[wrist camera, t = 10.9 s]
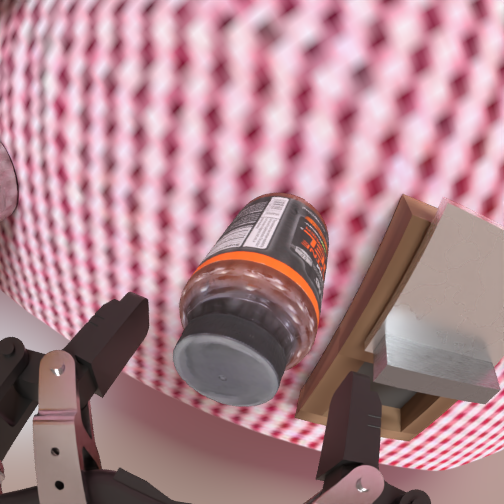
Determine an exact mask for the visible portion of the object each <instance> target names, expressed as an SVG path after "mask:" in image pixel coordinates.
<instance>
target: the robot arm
mask: <svg viewBox="0 0 504 504" xmlns="http://www.w3.org/2000/svg"><path fill="white" fill-rule="evenodd" d="M16 204H17V183H16V177H15V173H14V169H13V166H12V163H11V160H10V158H9V155H8V153H7V151H6V150H5V148H4V147H3V145H2V144H1V143H0V221H2V220H4V219H5V218H7V217H8V216H10V215H11V214H12V213H13V212H14V210H15V208H16ZM148 329H149V307H148V299H147V298H144V297H142V296H140V295H137V294H135V293H133V292H128V293H127V294H126V295H125V296H124V297H123V298H122V299H121V301H118V300H116V299H114V300H112V301H110V302H108V303H106V304H104V305H103V306H102V307H101V308H100V309H99V310H98V311H97V312H96V313H95V315H93V317H92V318H91V319H90V320H89V322H88V323H86V324H85V325H84V326H83V328H82V329H81V330H80V331H79V332H78V333H77V334H76V335H75V337H74V338H73V339H72V340H71V341H70V342H69V343H68V345H67V346H66V347H65V348H64V349H62V350H54V351H51V352H49V353H47V354H42V353H39V352H35V351H31V350H27V349H25V347H24V345H23V343H22V341H20V340H19V339H18V338H15V337H8V338H5V339H3V340H1V341H0V504H190V503H184V502H177V501H173V500H171V499H170V498H168V497H167V496H165V495H164V494H163V493H161V492H160V491H159V490H157V489H156V488H154V487H153V486H152V485H151V484H150V483H148V482H147V481H145V480H143V479H141V478H139V477H137V476H135V475H133V474H131V473H129V472H127V471H125V470H123V469H121V468H119V469H118V471H112V470H103V469H102V466H101V461H100V456H99V453H98V450H97V447H96V443H95V438H94V431H93V424H92V414H91V405H90V399H91V397H92V396H93V394H94V393H95V394H97V395H99V396H100V397H102V398H103V397H104V395H105V393H106V392H107V390H108V389H109V388H110V386H111V385H112V384H113V382H114V381H115V379H116V378H117V376H118V375H119V374H120V372H121V371H122V369H123V368H124V366H125V365H126V364H127V362H128V361H129V359H130V358H131V357H132V355H133V354H134V352H135V351H136V350H137V348H138V347H139V345H140V344H141V343H142V341H143V340H144V338H145V337H146V335H147V332H148ZM38 404H39V411H38V414H37V415H34V418H33V442H34V443H33V444H34V458H35V469H36V479H37V486H34V487H30V488H26V489H22V490H18V491H13V492H9V493H4V494H3V493H2V488H1V483H2V481H3V480H4V478H5V475H4V467H3V464H2V460H3V459H4V457H5V455H6V454H7V452H8V450H9V449H10V447H11V445H12V444H13V442H14V441H15V439H16V437H17V436H18V434H19V433H20V431H21V430H22V428H23V426H24V425H25V423H26V422H27V420H28V419H29V417H30V416H31V414H32V413H33V411H34V410H35V408H36V407H37V405H38ZM381 417H382V403H381V401H380V398H379V395H378V392H374V391H370V376H369V375H365V374H361V373H357V372H354V371H350V372H349V373H348V374H347V376H346V377H345V379H344V380H343V381H342V383H341V384H340V385H339V387H338V388H337V390H336V391H335V392H334V394H333V396H332V399H331V402H330V406H329V412H328V418H327V424H326V430H325V435H324V441H323V446H322V451H321V457H320V461H319V466H318V471H317V475H316V479H317V480H322V481H324V485H323V489H322V490H320V491H319V492H318V493H316V494H315V495H314V496H313V497H311V498H310V499H309V500H307V501H306V502H305V503H303V504H431V501H430V498H429V496H428V495H427V494H426V493H425V492H424V491H421V490H411V491H409V492H407V493H406V492H404V491H402V490H400V489H398V488H396V487H394V486H391V485H390V484H388V483H387V482H385V480H384V479H383V476H382V474H381V473H380V471H379V467H378V462H379V450H380V436H381V429H380V428H381Z"/></svg>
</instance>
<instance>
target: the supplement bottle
mask: <svg viewBox="0 0 504 504" xmlns="http://www.w3.org/2000/svg"><path fill="white" fill-rule="evenodd" d="M328 247H329V238H328V231H327V227H326V224H325V222H324V220H323V218H322V217H321V215H320V214H319V212H318V211H317V210H316V209H315V208H314V207H313V206H312V205H311V204H310V203H308V202H306V201H305V200H304V199H302V198H300V197H297V196H295V195H291V194H285V193H269V194H265V195H262V196H259V197H257V198H255V199H254V200H252V201H250V202H249V203H248V204H247V205H246V206H245V207H244V208H243V209H242V210H241V211H240V212H239V214H238V215H237V216H236V218H235V219H234V220H233V222H232V223H231V224H230V226H229V227H228V228H227V229H226V231H225V232H224V233H223V235H222V236H221V237H220V239H219V240H218V241H217V242H216V244H215V245H214V247H213V248H212V249H211V251H210V252H209V253H208V255H207V256H206V257H205V259H204V260H203V261H202V263H201V264H200V265H199V267H198V268H197V270H196V271H195V272H194V274H193V275H192V276H191V278H190V279H189V281H188V282H187V284H186V286H185V288H184V290H183V292H182V295H181V299H180V304H179V310H180V318H181V323H182V326H183V329H184V331H183V333H182V336H181V337H180V339H179V341H178V342H177V344H176V346H175V349H174V351H173V361H174V366H175V367H176V370H177V372H178V373H179V375H180V376H181V378H182V379H183V380H184V381H186V383H187V384H188V385H189V386H190V387H192V388H193V389H194V390H196V391H197V392H199V393H200V394H202V395H204V396H206V397H207V398H210V399H213V400H215V401H217V402H219V403H223V404H227V405H232V406H255V405H260V404H263V403H265V402H267V401H269V400H271V399H272V398H273V397H274V396H275V394H276V393H277V391H278V388H279V386H280V381H281V378H282V376H283V374H284V371H286V370H288V369H290V368H292V367H294V366H295V365H297V364H298V363H299V362H300V361H302V360H303V358H304V357H305V356H306V355H307V354H308V353H309V351H310V349H311V347H312V345H313V344H314V341H315V337H316V334H317V329H318V323H319V317H320V313H321V303H322V298H323V288H324V281H325V273H326V268H327V257H328Z"/></svg>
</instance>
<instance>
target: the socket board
mask: <svg viewBox="0 0 504 504" xmlns="http://www.w3.org/2000/svg"><path fill="white" fill-rule="evenodd" d="M437 210H438V208H435V207H433V206H431V205H428V204H426V203H424V202H421V201H419V200H416V199H414V198H411V197H409V196H406V195H404V194H402V197H401V199H400V202H399V204H398V207H397V209H396V211H395V214H394V216H393V218H392V220H391V223H390V225H389V227H388V230H387V232H386V234H385V236H384V238H383V241H382V243H381V245H380V247H379V249H378V251H377V253H376V256H375V258H374V260H373V262H372V264H371V266H370V268H369V270H368V272H367V274H366V276H365V278H364V280H363V282H362V284H361V286H360V288H359V290H358V292H357V294H356V296H355V298H354V300H353V302H352V303H351V305H350V307H349V309H348V311H347V313H346V315H345V316H344V318H343V320H342V322H341V324H340V326H339V327H338V329H337V331H336V333H335V335H334V336H333V338H332V340H331V342H330V343H329V345H328V347H327V349H326V350H325V352H324V354H323V355H322V357H321V359H320V360H319V362H318V364H317V365H316V367H315V369H314V370H313V372H312V374H311V375H310V377H309V378H308V380H307V382H306V383H305V385H304V386H303V388H302V390H301V391H300V395H299V400H298V405H297V409H296V414H295V418H298V419H301V420H305V421H309V422H313V423H317V424H321V425H325V426H326V424H327V418H328V412H329V406H330V402H331V399H332V396H333V394H334V392H335V391H336V390H337V388H338V387H339V385H340V384H341V383H342V381H343V380H344V379H345V377H346V376H347V374H348V373H349V372H350V371H354V372H357V373H361V374H365V375H369V376H370V391H374V392H378V395H379V398H380V401H381V403H382V417H381V428H380V429H381V436H380V437H384V438H390V439H397V440H403V441H410V440H411V439H413V438H414V437H415V436H417V435H418V434H419V433H420V432H422V431H423V430H424V429H425V428H427V427H428V426H429V425H430V424H431V423H433V422H434V421H435V420H436V419H437V418H439V417H440V416H441V415H442V414H443V413H444V412H445V411H447V410H448V409H449V408H450V407H451V406H452V405H453V404H454V403H455V402H456V401H457V400H456V399H451V398H445V397H440V396H435V395H430V394H425V393H420V392H415V391H411V390H406V389H402V388H397V387H393V386H389V385H385V384H380V383H376V382H373V353H371V352H367V351H365V340H366V339H367V337H368V335H369V334H370V332H371V331H372V329H373V328H374V326H375V325H376V323H377V321H378V320H379V318H380V316H381V315H382V313H383V312H384V310H385V308H386V307H387V305H388V303H389V302H390V300H391V298H392V296H393V295H394V293H395V291H396V289H397V288H398V286H399V284H400V282H401V281H402V279H403V277H404V275H405V273H406V272H407V270H408V268H409V266H410V264H411V262H412V260H413V259H414V257H415V255H416V253H417V251H418V249H419V247H420V245H421V243H422V241H423V239H424V237H425V235H426V233H427V231H428V229H429V227H430V225H431V222H432V220H433V218H434V216H435V214H436V212H437Z"/></svg>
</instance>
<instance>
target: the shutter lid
mask: <svg viewBox="0 0 504 504" xmlns="http://www.w3.org/2000/svg"><path fill="white" fill-rule="evenodd" d="M365 351H367V352H371V353H373V382H376V383H380V384H385V385H389V386H393V387H397V388H402V389H406V390H411V391H415V392H420V393H425V394H430V395H435V396H440V397H445V398H451V399H456V400H462V401H468V402H474V403H480V404H486V403H487V402H488V401H489V400H490V399H491V398H492V397H493V396H494V395H496V394H497V393H498V392H499V391H500V387H499V383H498V380H497V376H496V373H495V369H494V366H495V365H496V364H497V363H498V362H499V361H500V360H501V359H502V357H503V356H504V226H502V225H500V224H498V223H496V222H494V221H492V220H491V219H489V218H487V217H485V216H483V215H481V214H479V213H477V212H475V211H473V210H471V209H469V208H466V207H464V206H462V205H460V204H458V203H456V202H454V201H452V200H449V199H447V198H445V197H443V198H442V201H441V203H440V205H439V207H438V210H437V212H436V214H435V216H434V218H433V220H432V222H431V225H430V227H429V229H428V231H427V233H426V235H425V237H424V239H423V241H422V243H421V245H420V247H419V249H418V251H417V253H416V255H415V257H414V259H413V260H412V262H411V264H410V266H409V268H408V270H407V272H406V273H405V275H404V277H403V279H402V281H401V282H400V284H399V286H398V288H397V289H396V291H395V293H394V295H393V296H392V298H391V300H390V302H389V303H388V305H387V307H386V308H385V310H384V312H383V313H382V315H381V316H380V318H379V320H378V321H377V323H376V325H375V326H374V328H373V329H372V331H371V332H370V334H369V335H368V337H367V339H366V340H365Z"/></svg>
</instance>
